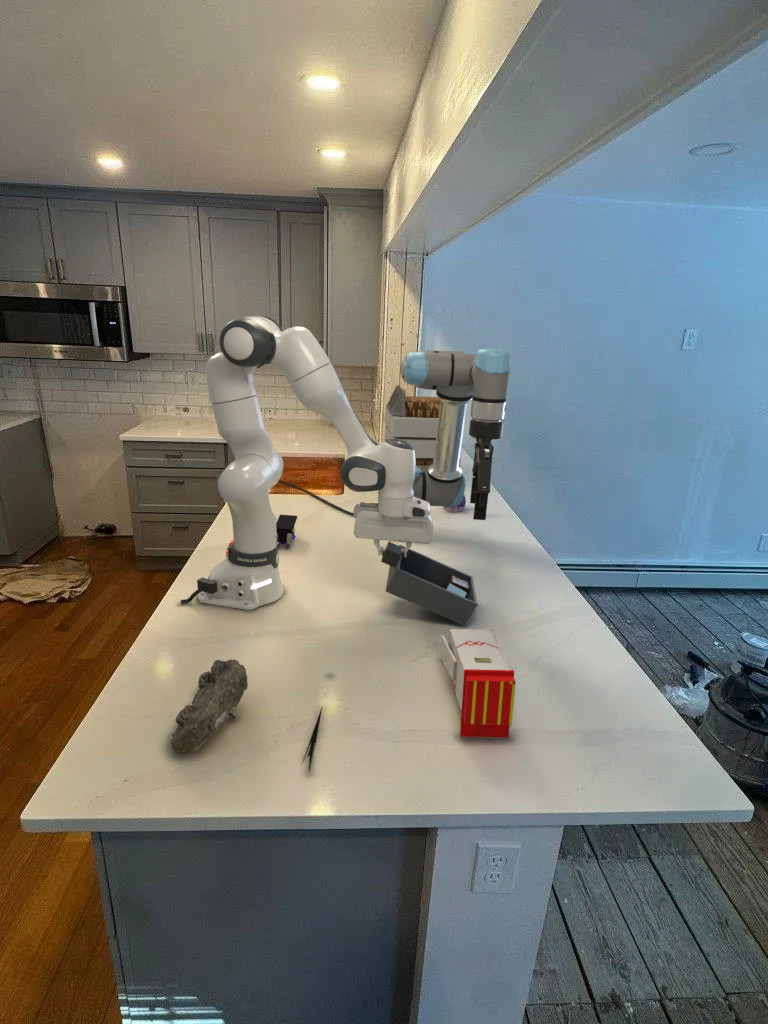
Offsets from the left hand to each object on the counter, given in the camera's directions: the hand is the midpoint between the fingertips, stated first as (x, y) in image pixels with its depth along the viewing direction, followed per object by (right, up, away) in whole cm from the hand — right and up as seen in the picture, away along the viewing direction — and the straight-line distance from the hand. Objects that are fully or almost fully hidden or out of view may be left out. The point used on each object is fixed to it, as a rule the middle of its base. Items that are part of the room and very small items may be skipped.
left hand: (392, 555), depth 146 cm
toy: (+16, -26, -27) cm, 41 cm away
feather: (-15, -29, -37) cm, 49 cm away
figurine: (+26, +12, +82) cm, 87 cm away
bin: (+7, -10, +3) cm, 12 cm away
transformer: (+15, +30, +129) cm, 133 cm away
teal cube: (+18, -12, -1) cm, 21 cm away
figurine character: (-35, +1, +42) cm, 55 cm away
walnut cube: (+16, -12, +7) cm, 21 cm away
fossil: (-34, -28, -38) cm, 58 cm away
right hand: (+20, +11, -10) cm, 25 cm away
